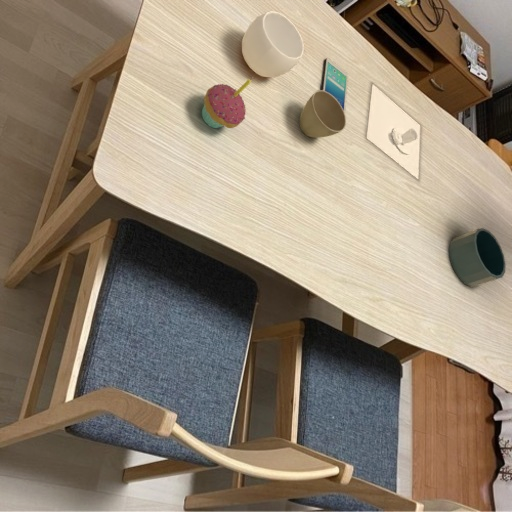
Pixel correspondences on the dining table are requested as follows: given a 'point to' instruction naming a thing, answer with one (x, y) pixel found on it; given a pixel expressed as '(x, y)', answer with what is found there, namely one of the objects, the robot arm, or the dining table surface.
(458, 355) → the dining table surface
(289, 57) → the cup
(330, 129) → the flower pot
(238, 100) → the cupcake
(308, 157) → the dining table surface
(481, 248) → the bowl
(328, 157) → the dining table surface
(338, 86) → the smartphone
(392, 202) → the dining table surface
